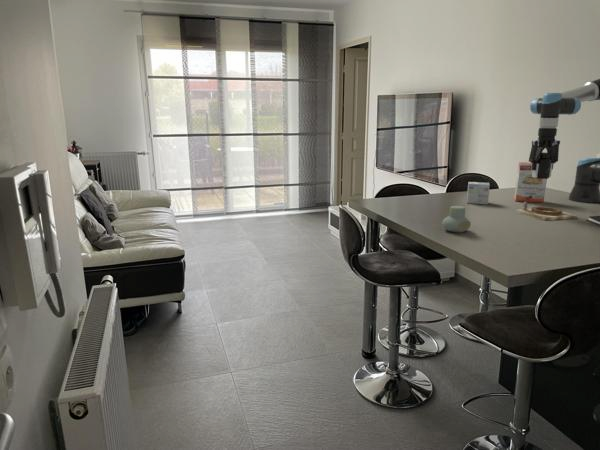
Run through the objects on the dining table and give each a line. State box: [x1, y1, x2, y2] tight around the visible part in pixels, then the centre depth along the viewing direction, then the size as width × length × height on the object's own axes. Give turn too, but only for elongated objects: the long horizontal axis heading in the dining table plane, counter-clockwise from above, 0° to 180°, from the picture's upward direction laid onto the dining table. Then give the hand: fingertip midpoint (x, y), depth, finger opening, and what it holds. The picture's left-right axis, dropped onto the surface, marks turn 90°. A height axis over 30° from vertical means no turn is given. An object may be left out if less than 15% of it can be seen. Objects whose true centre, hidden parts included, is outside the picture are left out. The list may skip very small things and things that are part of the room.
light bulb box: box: [466, 181, 490, 205], centre depth 242 cm, size 11×7×11 cm, turn 71°
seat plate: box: [516, 202, 578, 221], centre depth 215 cm, size 18×18×5 cm
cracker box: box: [513, 161, 548, 204], centre depth 245 cm, size 14×6×21 cm, turn 73°
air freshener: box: [441, 205, 471, 234], centre depth 186 cm, size 11×8×10 cm
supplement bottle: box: [534, 151, 551, 180], centre depth 216 cm, size 7×7×12 cm
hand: (541, 176), depth 217 cm, fingers closed on supplement bottle, 7 cm apart
